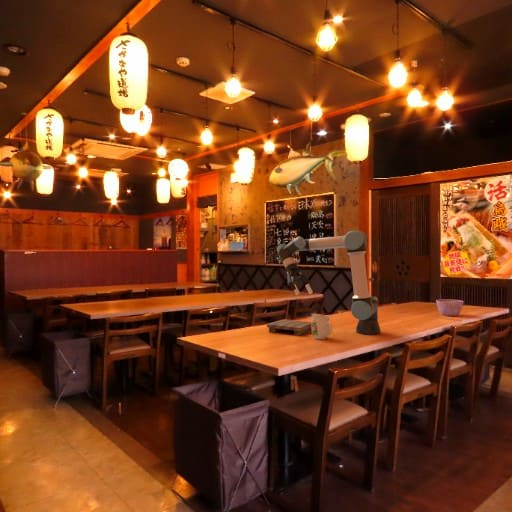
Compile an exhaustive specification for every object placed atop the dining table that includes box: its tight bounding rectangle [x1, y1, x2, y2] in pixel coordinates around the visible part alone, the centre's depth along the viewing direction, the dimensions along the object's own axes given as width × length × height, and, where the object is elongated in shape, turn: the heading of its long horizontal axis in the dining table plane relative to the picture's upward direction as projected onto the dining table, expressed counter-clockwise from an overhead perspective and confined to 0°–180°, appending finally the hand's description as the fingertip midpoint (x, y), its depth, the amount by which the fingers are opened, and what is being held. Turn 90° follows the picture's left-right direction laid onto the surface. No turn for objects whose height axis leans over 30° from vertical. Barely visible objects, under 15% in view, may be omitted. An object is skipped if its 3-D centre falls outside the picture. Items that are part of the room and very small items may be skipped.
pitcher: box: [311, 313, 333, 340], centre depth 254 cm, size 11×18×14 cm, turn 30°
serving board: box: [266, 319, 312, 336], centre depth 278 cm, size 24×22×5 cm
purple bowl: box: [435, 298, 465, 317], centre depth 335 cm, size 20×20×12 cm
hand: (304, 293), depth 271 cm, fingers open, 13 cm apart
